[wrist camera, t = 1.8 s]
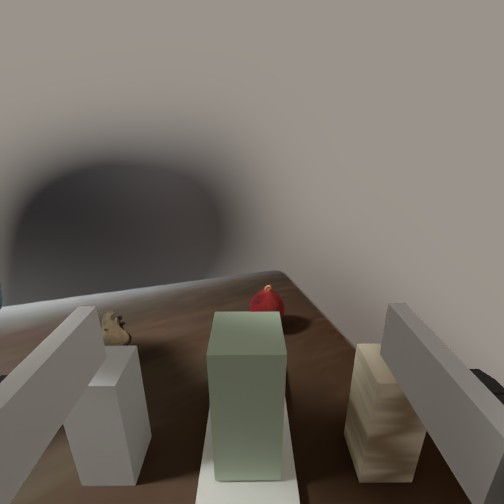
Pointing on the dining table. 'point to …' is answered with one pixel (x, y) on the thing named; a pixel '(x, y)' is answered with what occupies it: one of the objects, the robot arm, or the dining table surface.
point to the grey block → (111, 422)
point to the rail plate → (248, 491)
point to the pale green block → (247, 394)
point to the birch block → (381, 422)
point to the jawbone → (113, 331)
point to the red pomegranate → (267, 302)
